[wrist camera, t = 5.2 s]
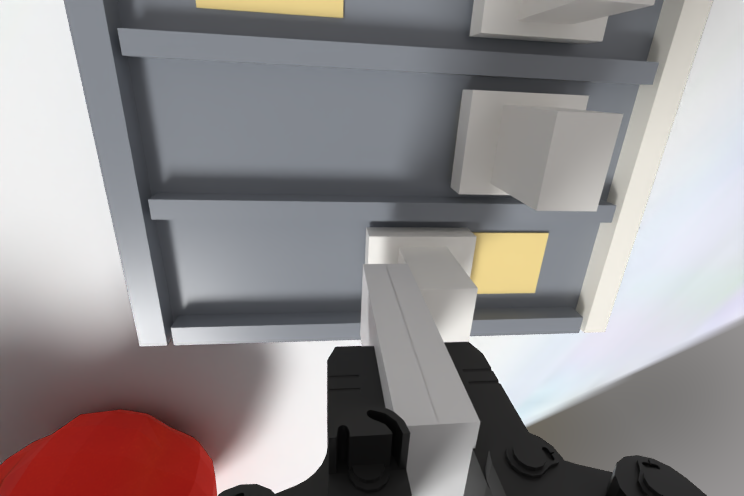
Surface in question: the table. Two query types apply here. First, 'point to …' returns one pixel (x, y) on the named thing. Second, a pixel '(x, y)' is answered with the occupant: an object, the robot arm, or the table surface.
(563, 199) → the tab
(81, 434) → the tomato
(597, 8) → the tab
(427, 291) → the tab
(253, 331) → the switch bank
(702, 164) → the table surface
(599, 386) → the table surface
